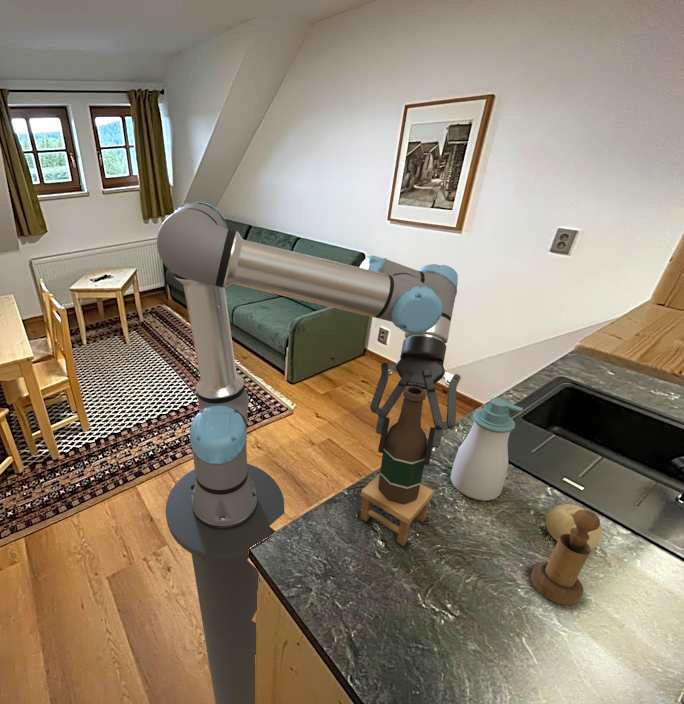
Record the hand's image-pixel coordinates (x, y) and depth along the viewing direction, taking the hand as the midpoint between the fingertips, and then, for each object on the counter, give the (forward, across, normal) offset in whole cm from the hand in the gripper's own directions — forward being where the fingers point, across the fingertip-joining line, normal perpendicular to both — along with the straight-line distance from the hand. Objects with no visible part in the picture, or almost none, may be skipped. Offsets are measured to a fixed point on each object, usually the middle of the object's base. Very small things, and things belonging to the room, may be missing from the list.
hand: (402, 457), depth 73 cm
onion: (+5, -30, -23) cm, 38 cm away
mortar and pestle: (+14, -26, -14) cm, 33 cm away
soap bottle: (-1, -15, -28) cm, 32 cm away
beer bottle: (+6, 0, -11) cm, 12 cm away
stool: (+11, 0, -16) cm, 20 cm away
